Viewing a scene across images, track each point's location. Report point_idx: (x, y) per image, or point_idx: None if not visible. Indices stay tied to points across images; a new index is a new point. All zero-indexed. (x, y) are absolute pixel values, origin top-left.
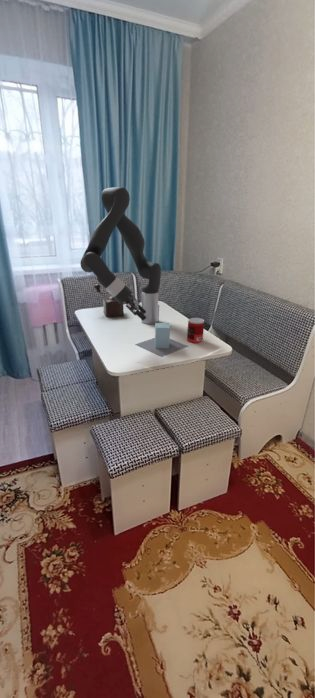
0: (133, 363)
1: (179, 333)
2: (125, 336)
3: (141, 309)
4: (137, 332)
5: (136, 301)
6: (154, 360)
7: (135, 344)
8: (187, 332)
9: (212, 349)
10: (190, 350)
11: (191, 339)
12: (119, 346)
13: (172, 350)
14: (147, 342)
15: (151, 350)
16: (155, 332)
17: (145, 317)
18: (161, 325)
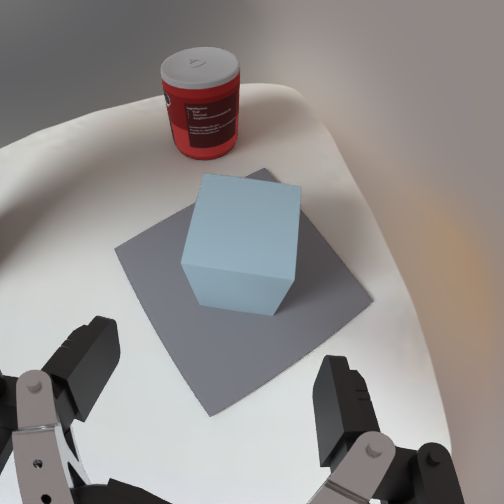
0: (410, 424)
1: (109, 172)
2: (85, 432)
3: (90, 371)
4: (45, 357)
5: (70, 488)
6: (392, 336)
7: (211, 413)
8: (194, 133)
9: (289, 113)
10: (296, 173)
11: (228, 140)
12: (216, 488)
13: (307, 240)
14: (191, 343)
15: (302, 340)
16: (251, 290)
17: (342, 362)
18: (246, 229)
